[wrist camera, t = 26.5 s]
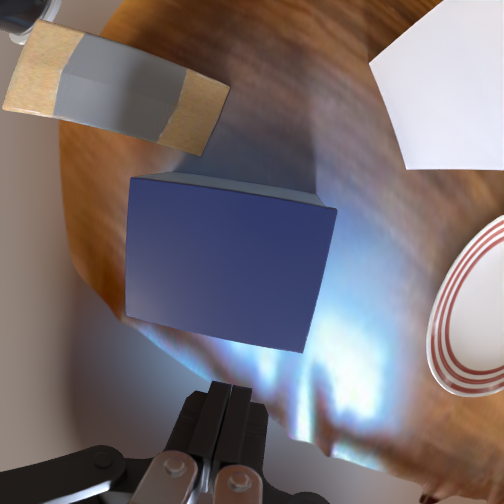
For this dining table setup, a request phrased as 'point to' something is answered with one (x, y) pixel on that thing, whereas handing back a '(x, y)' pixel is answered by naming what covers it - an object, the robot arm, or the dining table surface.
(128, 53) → the sandwich container
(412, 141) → the milk
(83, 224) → the dining table surface
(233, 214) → the lid
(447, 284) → the dinner plate
